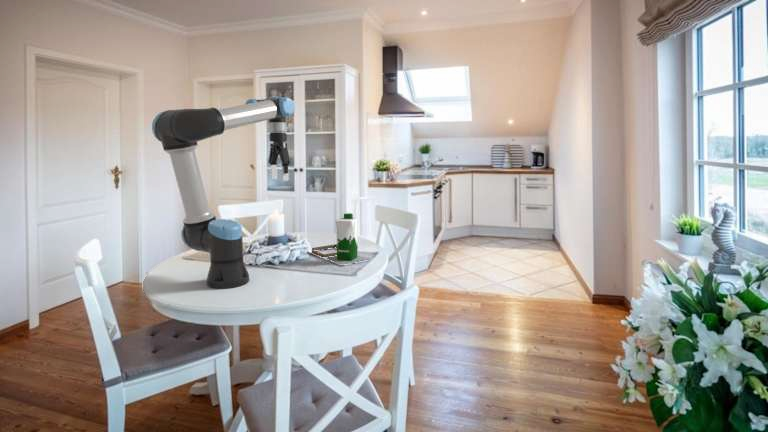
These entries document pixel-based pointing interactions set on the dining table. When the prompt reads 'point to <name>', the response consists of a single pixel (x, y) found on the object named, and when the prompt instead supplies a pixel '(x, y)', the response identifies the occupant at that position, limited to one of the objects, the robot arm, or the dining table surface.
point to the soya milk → (347, 237)
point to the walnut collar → (324, 248)
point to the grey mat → (347, 261)
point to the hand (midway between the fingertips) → (279, 179)
